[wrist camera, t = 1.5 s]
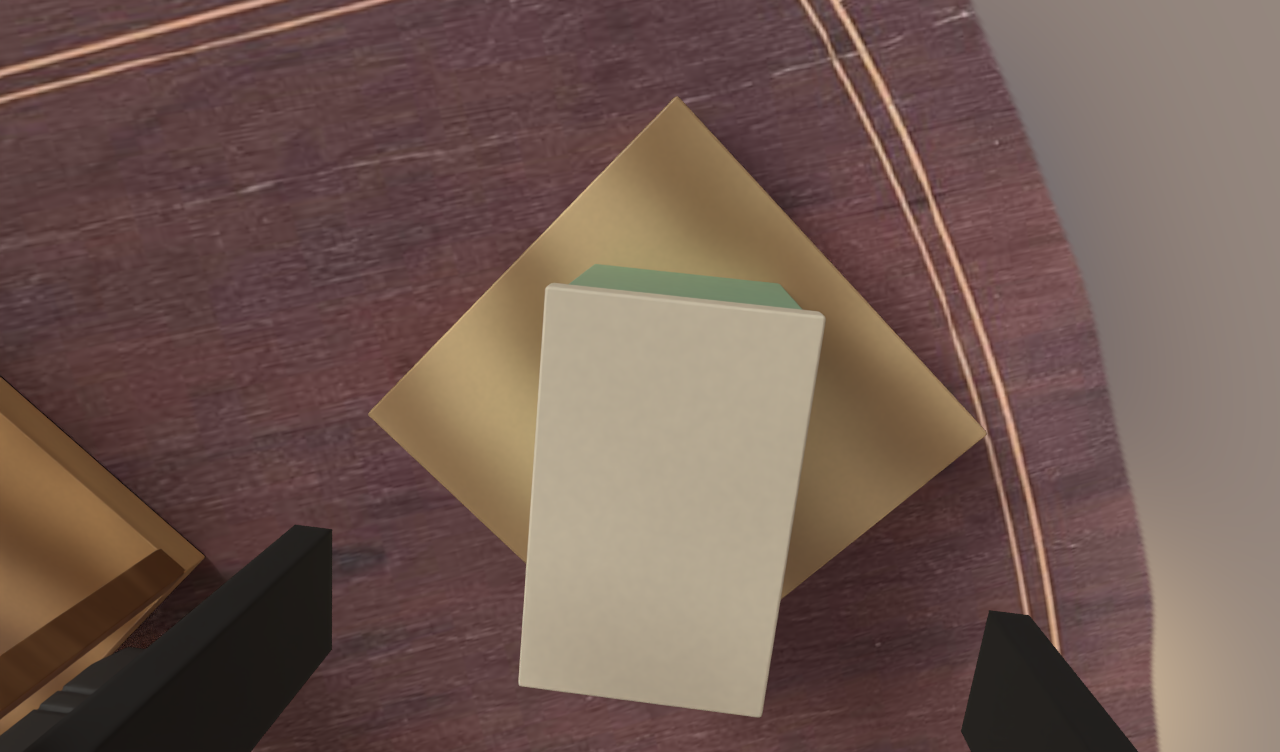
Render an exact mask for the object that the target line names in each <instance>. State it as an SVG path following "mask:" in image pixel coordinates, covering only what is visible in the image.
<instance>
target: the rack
mask: <svg viewBox="0 0 1280 752" xmlns="http://www.w3.org/2000/svg"><path fill="white" fill-rule="evenodd" d="M204 558H205V556H204V555H203V554H202V553H200V552H199V551H198V550H197V549H196V548H195V547H194V546H192V545H191V544H190V543H189V542H188V541H187V540H186V539H184V538H183V537H182V536H181V535H180V534H179V533H178V532H177V531H175V530H174V529H173V528H172V527H171V526H170V525H169V524H167V523H166V522H165V521H164V520H163V519H162V518H161V517H159V516H158V515H157V514H156V513H155V512H154V511H153V510H151V509H150V508H149V507H148V506H147V505H146V504H145V503H144V502H142V501H141V500H140V499H139V498H138V497H137V496H136V495H134V494H133V493H132V492H131V491H130V490H129V489H128V488H126V487H125V486H124V485H123V484H122V483H121V482H120V481H118V480H117V479H116V478H115V477H114V476H113V475H112V474H111V473H109V472H108V471H107V470H106V469H105V468H104V467H103V466H101V465H100V464H99V463H98V462H97V461H96V460H95V459H93V458H92V457H91V456H90V455H89V454H88V453H87V452H85V451H84V450H83V449H82V448H81V447H80V446H79V445H78V444H76V443H75V442H74V441H73V440H72V439H71V438H70V437H68V436H67V435H66V434H65V433H64V432H63V431H62V430H60V429H59V428H58V427H57V426H56V425H55V424H54V423H52V422H51V421H50V420H49V419H48V418H47V417H46V416H45V415H43V414H42V413H41V412H40V411H39V410H38V409H37V408H35V407H34V406H33V405H32V404H31V403H30V402H29V401H27V400H26V399H25V398H24V397H23V396H22V395H21V394H19V393H18V392H17V391H16V390H15V389H14V388H13V387H12V386H10V385H9V384H8V383H7V382H6V381H5V380H4V379H2V378H1V377H0V735H2V734H3V733H4V732H5V731H7V730H8V729H9V728H10V727H12V726H13V725H14V724H16V723H17V722H18V721H19V720H21V719H22V718H23V717H25V716H26V715H27V714H28V713H30V712H31V711H32V710H33V709H36V710H38V709H39V707H40V704H41V703H42V702H44V701H45V700H46V699H48V698H49V697H50V696H51V695H53V694H54V693H55V692H57V691H62V689H63V686H64V685H65V684H67V683H68V682H69V681H71V680H72V679H73V678H74V677H76V676H77V675H78V674H80V673H81V672H82V671H83V670H85V669H86V668H87V667H89V666H90V665H91V664H93V663H95V662H97V661H99V660H101V659H103V658H105V657H108V656H110V655H112V654H113V653H114V652H115V651H116V650H117V649H118V648H119V647H120V645H121V644H122V643H123V642H124V641H125V640H126V639H127V638H128V637H129V636H130V635H131V634H132V633H133V632H134V631H135V630H136V629H137V628H138V627H139V626H140V625H141V624H142V623H143V622H144V620H145V619H146V618H147V617H148V616H149V615H150V614H151V613H152V612H153V611H154V610H155V609H156V608H157V607H158V606H159V605H160V604H161V603H162V602H163V601H164V600H165V599H166V598H167V596H168V595H169V594H170V593H171V592H172V591H173V590H174V589H175V588H176V587H177V586H178V585H179V584H180V583H181V582H182V581H183V580H184V579H185V578H186V577H187V576H188V575H189V574H190V573H191V571H192V570H193V569H194V568H195V567H196V566H197V565H198V564H199V563H200V562H201V561H202V560H203V559H204Z"/></svg>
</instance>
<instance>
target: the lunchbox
mask: <svg viewBox="0 0 1280 752" xmlns="http://www.w3.org/2000/svg"><path fill="white" fill-rule="evenodd" d="M825 321H826V319H825V316H824V315H823V314H822V313H820V312H819V311H810V310H803V309H802V308H801V307H800V306H799V305H798V304H797V303H796V302H795V300H794V299H793V298H792V297H791V296H790V295H789V294H788V293H787V291H786V290H785V289H784V288H783V287H782V286H781V285H780V284H778V283H769V282H760V281H750V280H741V279H732V278H722V277H713V276H704V275H694V274H685V273H676V272H666V271H657V270H647V269H638V268H629V267H619V266H610V265H601V264H594V265H593V266H592V267H590V268H589V269H588V270H586V271H585V272H584V273H582V274H581V275H580V276H579V277H577V278H576V279H575V280H573V281H572V282H571V283H569V284H560V283H551V284H550V285H548V286H547V287H546V289H545V301H544V316H543V330H542V345H541V360H540V374H539V389H538V404H537V418H536V433H535V447H534V462H533V477H532V491H531V506H530V521H529V535H528V550H527V565H526V579H525V594H524V608H523V623H522V638H521V652H520V667H519V685H520V686H523V687H531V688H539V689H546V690H554V691H561V692H569V693H577V694H584V695H592V696H599V697H607V698H615V699H622V700H630V701H638V702H645V703H653V704H660V705H668V706H676V707H683V708H691V709H699V710H706V711H714V712H721V713H729V714H737V715H744V716H752V717H761V715H762V712H763V706H764V699H765V693H766V687H767V681H768V675H769V668H770V662H771V656H772V650H773V644H774V637H775V631H776V625H777V619H778V613H779V606H780V600H781V594H782V588H783V582H784V575H785V569H786V563H787V557H788V551H789V544H790V538H791V532H792V526H793V520H794V513H795V507H796V501H797V495H798V489H799V482H800V476H801V470H802V464H803V458H804V451H805V445H806V439H807V433H808V427H809V420H810V414H811V408H812V402H813V396H814V390H815V383H816V377H817V371H818V365H819V359H820V352H821V346H822V340H823V334H824V328H825Z"/></svg>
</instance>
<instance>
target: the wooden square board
mask: <svg viewBox="0 0 1280 752" xmlns="http://www.w3.org/2000/svg"><path fill="white" fill-rule="evenodd" d="M594 264H601V265H610V266H619V267H629V268H638V269H647V270H657V271H666V272H676V273H685V274H694V275H704V276H713V277H722V278H732V279H741V280H750V281H760V282H769V283H778V284H780V285H781V286H782V287H783V288H784V289H785V290H786V291H787V293H788V294H789V295H790V296H791V297H792V298H793V299H794V300H795V302H796V303H797V304H798V305H799V306H800V307H801V308H802V309H803V310H810V311H819V312H820V313H822V314H823V315H824V316H825V319H826V321H825V328H824V334H823V340H822V346H821V352H820V359H819V365H818V371H817V377H816V383H815V390H814V396H813V402H812V408H811V414H810V420H809V427H808V433H807V439H806V445H805V451H804V458H803V464H802V470H801V476H800V482H799V489H798V495H797V501H796V507H795V513H794V520H793V526H792V532H791V538H790V544H789V551H788V557H787V563H786V569H785V575H784V582H783V588H782V594H781V599H782V598H783V597H785V596H786V595H787V594H788V593H790V592H791V591H792V590H793V589H795V588H796V587H797V586H798V585H800V584H801V583H802V582H803V581H805V580H806V579H807V578H808V577H810V576H811V575H812V574H813V573H815V572H816V571H817V570H818V569H820V568H821V567H822V566H823V565H825V564H826V563H827V562H828V561H830V560H831V559H832V558H833V557H835V556H836V555H837V554H838V553H840V552H841V551H842V550H843V549H845V548H846V547H847V546H848V545H850V544H851V543H852V542H853V541H855V540H856V539H857V538H858V537H860V536H861V535H862V534H863V533H865V532H866V531H867V530H868V529H870V528H871V527H872V526H873V525H875V524H876V523H877V522H878V521H880V520H881V519H882V518H883V517H885V516H886V515H887V514H888V513H890V512H891V511H892V510H893V509H895V508H896V507H897V506H898V505H899V504H901V503H902V502H903V501H904V500H906V499H907V498H908V497H909V496H911V495H912V494H913V493H914V492H916V491H917V490H918V489H919V488H921V487H922V486H923V485H924V484H926V483H927V482H928V481H929V480H931V479H932V478H933V477H934V476H936V475H937V474H938V473H939V472H941V471H942V470H943V469H944V468H946V467H947V466H948V465H949V464H951V463H952V462H953V461H954V460H956V459H957V458H958V457H959V456H961V455H962V454H963V453H964V452H966V451H967V450H968V449H969V448H971V447H972V446H973V445H974V444H976V443H977V442H978V441H979V440H981V439H982V438H983V437H984V436H986V434H987V433H986V431H985V430H984V429H983V428H982V427H981V425H980V424H979V423H978V422H977V421H976V420H975V419H974V418H973V417H972V416H971V415H970V413H969V412H968V411H967V410H966V409H965V408H964V407H963V406H962V405H961V404H960V403H959V402H958V400H957V399H956V398H955V397H954V396H953V395H952V394H951V393H950V392H949V391H948V390H947V388H946V387H945V386H944V385H943V384H942V383H941V382H940V381H939V380H938V379H937V378H936V376H935V375H934V374H933V373H932V372H931V371H930V370H929V369H928V368H927V367H926V366H925V365H924V363H923V362H922V361H921V360H920V359H919V358H918V357H917V356H916V355H915V354H914V353H913V351H912V350H911V349H910V348H909V347H908V346H907V345H906V344H905V343H904V342H903V341H902V339H901V338H900V337H899V336H898V335H897V334H896V333H895V332H894V331H893V330H892V329H891V327H890V326H889V325H888V324H887V323H886V322H885V321H884V320H883V319H882V318H881V317H880V316H879V314H878V313H877V312H876V311H875V310H874V309H873V308H872V307H871V306H870V305H869V304H868V302H867V301H866V300H865V299H864V298H863V297H862V296H861V295H860V294H859V293H858V292H857V290H856V289H855V288H854V287H853V286H852V285H851V284H850V283H849V282H848V281H847V280H846V279H845V277H844V276H843V275H842V274H841V273H840V272H839V271H838V270H837V269H836V268H835V267H834V265H833V264H832V263H831V262H830V261H829V260H828V259H827V258H826V257H825V256H824V255H823V253H822V252H821V251H820V250H819V249H818V248H817V247H816V246H815V245H814V244H813V243H812V242H811V240H810V239H809V238H808V237H807V236H806V235H805V234H804V233H803V232H802V231H801V230H800V228H799V227H798V226H797V225H796V224H795V223H794V222H793V221H792V220H791V219H790V218H789V216H788V215H787V214H786V213H785V212H784V211H783V210H782V209H781V208H780V207H779V206H778V205H777V203H776V202H775V201H774V200H773V199H772V198H771V197H770V196H769V195H768V194H767V193H766V191H765V190H764V189H763V188H762V187H761V186H760V185H759V184H758V183H757V182H756V181H755V179H754V178H753V177H752V176H751V175H750V174H749V173H748V172H747V171H746V170H745V169H744V168H743V166H742V165H741V164H740V163H739V162H738V161H737V160H736V159H735V158H734V157H733V156H732V154H731V153H730V152H729V151H728V150H727V149H726V148H725V147H724V146H723V145H722V144H721V142H720V141H719V140H718V139H717V138H716V137H715V136H714V135H713V134H712V133H711V132H710V131H709V129H708V128H707V127H706V126H705V125H704V124H703V123H702V122H701V121H700V120H699V119H698V117H697V116H696V115H695V114H694V113H693V112H692V111H691V110H690V109H689V108H688V107H687V105H686V104H685V103H684V102H683V101H682V100H681V99H680V98H679V97H677V96H676V97H674V98H673V100H672V101H671V102H670V103H669V104H668V105H667V106H666V107H665V108H664V109H663V110H662V111H661V112H660V113H659V114H658V115H657V116H656V117H655V118H654V119H653V120H652V121H651V122H650V123H649V124H648V125H647V126H646V127H645V128H644V129H643V130H642V131H641V133H640V134H639V135H638V136H637V137H636V138H635V139H634V140H633V141H632V142H631V143H630V144H629V145H628V146H627V147H626V148H625V149H624V150H623V151H622V152H621V153H620V154H619V155H618V156H617V157H616V158H615V159H614V160H613V161H612V162H611V163H610V164H609V165H608V167H607V168H606V169H605V170H604V171H603V172H602V173H601V174H600V175H599V176H598V177H597V178H596V179H595V180H594V181H593V182H592V183H591V184H590V185H589V186H588V187H587V188H586V189H585V190H584V191H583V192H582V193H581V194H580V195H579V196H578V197H577V198H576V200H575V201H574V202H573V203H572V204H571V205H570V206H569V207H568V208H567V209H566V210H565V211H564V212H563V213H562V214H561V215H560V216H559V217H558V218H557V219H556V220H555V221H554V222H553V223H552V224H551V225H550V226H549V227H548V228H547V229H546V230H545V231H544V233H543V234H542V235H541V236H540V237H539V238H538V239H537V240H536V241H535V242H534V243H533V244H532V245H531V246H530V247H529V248H528V249H527V250H526V251H525V252H524V253H523V254H522V255H521V256H520V257H519V258H518V259H517V260H516V261H515V262H514V263H513V264H512V265H511V267H510V268H509V269H508V270H507V271H506V272H505V273H504V274H503V275H502V276H501V277H500V278H499V279H498V280H497V281H496V282H495V283H494V284H493V285H492V286H491V287H490V288H489V289H488V290H487V291H486V292H485V293H484V294H483V295H482V296H481V297H480V298H479V300H478V301H477V302H476V303H475V304H474V305H473V306H472V307H471V308H470V309H469V310H468V311H467V312H466V313H465V314H464V315H463V316H462V317H461V318H460V319H459V320H458V321H457V322H456V323H455V324H454V325H453V326H452V327H451V328H450V329H449V330H448V331H447V332H446V334H445V335H444V336H443V337H442V338H441V339H440V340H439V341H438V342H437V343H436V344H435V345H434V346H433V347H432V348H431V349H430V350H429V351H428V352H427V353H426V354H425V355H424V356H423V357H422V358H421V359H420V360H419V361H418V362H417V363H416V364H415V365H414V367H413V368H412V369H411V370H410V371H409V372H408V373H407V374H406V375H405V376H404V377H403V378H402V379H401V380H400V381H399V382H398V383H397V384H396V385H395V386H394V387H393V388H392V389H391V390H390V391H389V392H388V393H387V394H386V395H385V396H384V397H383V398H382V399H381V401H380V402H379V403H378V404H377V405H376V406H375V407H374V408H373V409H372V410H371V411H370V412H369V414H368V415H369V416H370V417H371V418H372V419H373V420H374V421H375V422H376V423H377V424H378V425H380V426H381V427H382V428H383V429H384V430H385V431H386V432H387V433H388V434H389V435H390V436H391V437H392V438H393V439H394V440H395V441H397V442H398V443H399V444H400V445H401V446H402V447H403V448H404V449H405V450H406V451H407V452H408V453H409V454H410V455H411V456H412V457H414V458H415V459H416V460H417V461H418V462H419V463H420V464H421V465H422V466H423V467H424V468H425V469H426V470H427V471H428V472H429V473H430V474H432V475H433V476H434V477H435V478H436V479H437V480H438V481H439V482H440V483H441V484H442V485H443V486H444V487H445V488H446V489H447V490H449V491H450V492H451V493H452V494H453V495H454V496H455V497H456V498H457V499H458V500H459V501H460V502H461V503H462V504H463V505H464V506H466V507H467V508H468V509H469V510H470V511H471V512H472V513H473V514H474V515H475V516H476V517H477V518H478V519H479V520H480V521H481V522H482V523H484V524H485V525H486V526H487V527H488V528H489V529H490V530H491V531H492V532H493V533H494V534H495V535H496V536H497V537H498V538H499V539H501V540H502V541H503V542H504V543H505V544H506V545H507V546H508V547H509V548H510V549H511V550H512V551H513V552H514V553H515V554H516V555H518V556H519V557H520V558H521V559H522V560H523V561H524V562H525V563H526V564H527V550H528V535H529V521H530V506H531V491H532V477H533V462H534V447H535V433H536V418H537V404H538V389H539V374H540V360H541V345H542V330H543V316H544V301H545V289H546V287H547V286H548V285H550V284H551V283H560V284H569V283H571V282H572V281H573V280H575V279H576V278H577V277H579V276H580V275H581V274H582V273H584V272H585V271H586V270H588V269H589V268H590V267H592V266H593V265H594Z"/></svg>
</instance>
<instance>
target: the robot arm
mask: <svg viewBox="0 0 1280 752" xmlns="http://www.w3.org/2000/svg"><path fill="white" fill-rule="evenodd" d="M331 650H332V529H325V528H317V527H309V526H301V525H294V526H293V527H292V528H291V529H289V530H288V531H287V532H286V533H285V534H283V535H282V536H281V537H280V538H279V539H277V540H276V541H275V542H274V543H273V544H271V545H270V546H269V547H268V548H267V549H265V550H264V551H263V552H262V553H261V554H259V555H258V556H257V557H256V558H255V559H253V560H252V561H251V562H250V563H249V564H247V565H246V566H245V567H244V568H243V569H241V570H240V571H239V572H238V573H237V574H235V575H234V576H233V577H232V578H231V579H229V580H228V581H227V582H226V583H225V584H223V585H222V586H221V587H220V588H219V589H217V590H216V591H215V592H214V593H213V594H211V595H210V596H209V597H208V598H207V599H205V600H204V601H203V602H202V603H201V604H199V605H198V606H197V607H196V608H195V609H193V610H192V611H191V612H190V613H188V614H187V615H186V616H185V617H184V618H182V619H181V620H180V621H179V622H178V623H176V624H175V625H174V626H173V627H172V628H170V629H169V630H168V631H167V632H166V633H164V634H163V635H162V636H161V637H160V638H158V639H157V640H156V641H155V642H154V643H152V644H151V645H150V646H149V647H148V648H146V649H141V648H134V647H126V648H124V649H122V650H120V651H118V652H116V653H114V654H112V655H110V656H108V657H105V658H103V659H101V660H99V661H97V662H95V663H93V664H91V665H90V666H89V667H87V668H86V669H85V670H83V671H82V672H81V673H80V674H78V675H77V676H76V677H74V678H73V679H72V680H71V681H69V682H68V683H67V684H65V685H64V686H63V689H62V691H57V692H55V693H54V694H53V695H51V696H50V697H49V698H48V699H46V700H45V701H44V702H42V703H41V704H40V707H39V709H38V710H36V709H33V710H32V711H31V712H30V713H28V714H27V715H26V716H25V717H23V718H22V719H21V720H19V721H18V722H17V723H16V724H14V725H13V726H12V727H10V728H9V729H8V730H7V731H5V732H4V733H3V734H2V735H0V752H251V751H252V749H253V748H254V747H255V746H256V744H257V743H258V742H259V741H260V739H261V738H262V737H263V736H264V734H265V733H266V732H267V731H268V729H269V728H270V727H271V725H272V724H273V723H274V722H275V720H276V719H277V718H278V717H279V715H280V714H281V713H282V712H283V710H284V709H285V708H286V707H287V705H288V704H289V703H290V701H291V700H292V699H293V698H294V696H295V695H296V694H297V693H298V691H299V690H300V689H301V688H302V686H303V685H304V684H305V683H306V681H307V680H308V679H309V678H310V676H311V675H312V674H313V672H314V671H315V670H316V669H317V667H318V666H319V665H320V664H321V662H322V661H323V660H324V659H325V657H326V656H327V655H328V654H329V652H330V651H331ZM961 732H962V734H963V736H964V738H965V740H966V742H967V744H968V746H969V748H970V750H971V752H1138V751H1137V750H1136V748H1135V747H1134V746H1133V745H1132V743H1131V742H1130V741H1129V740H1128V738H1127V737H1126V736H1125V735H1124V733H1123V732H1122V731H1121V730H1120V728H1119V727H1118V726H1117V725H1116V723H1115V722H1114V721H1113V720H1112V718H1111V717H1110V716H1109V715H1108V713H1107V712H1106V711H1105V710H1104V708H1103V707H1102V706H1101V705H1100V703H1099V702H1098V701H1097V700H1096V698H1095V697H1094V696H1093V695H1092V693H1091V692H1090V691H1089V690H1088V688H1087V687H1086V686H1085V685H1084V683H1083V682H1082V681H1081V680H1080V678H1079V677H1078V676H1077V675H1076V673H1075V672H1074V671H1073V670H1072V668H1071V667H1070V666H1069V665H1068V663H1067V662H1066V661H1065V660H1064V658H1063V657H1062V656H1061V655H1060V653H1059V652H1058V651H1057V650H1056V648H1055V647H1054V646H1053V645H1052V643H1051V642H1050V641H1049V640H1048V638H1047V637H1046V636H1045V635H1044V633H1043V632H1042V631H1041V630H1040V628H1039V627H1038V626H1037V625H1036V623H1035V622H1034V621H1033V620H1032V618H1031V617H1030V616H1029V615H1023V614H1014V613H1006V612H998V611H990V610H989V614H988V618H987V622H986V626H985V631H984V635H983V639H982V644H981V648H980V652H979V656H978V661H977V665H976V669H975V674H974V678H973V682H972V686H971V691H970V695H969V699H968V704H967V708H966V712H965V716H964V721H963V725H962V729H961Z"/></svg>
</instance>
